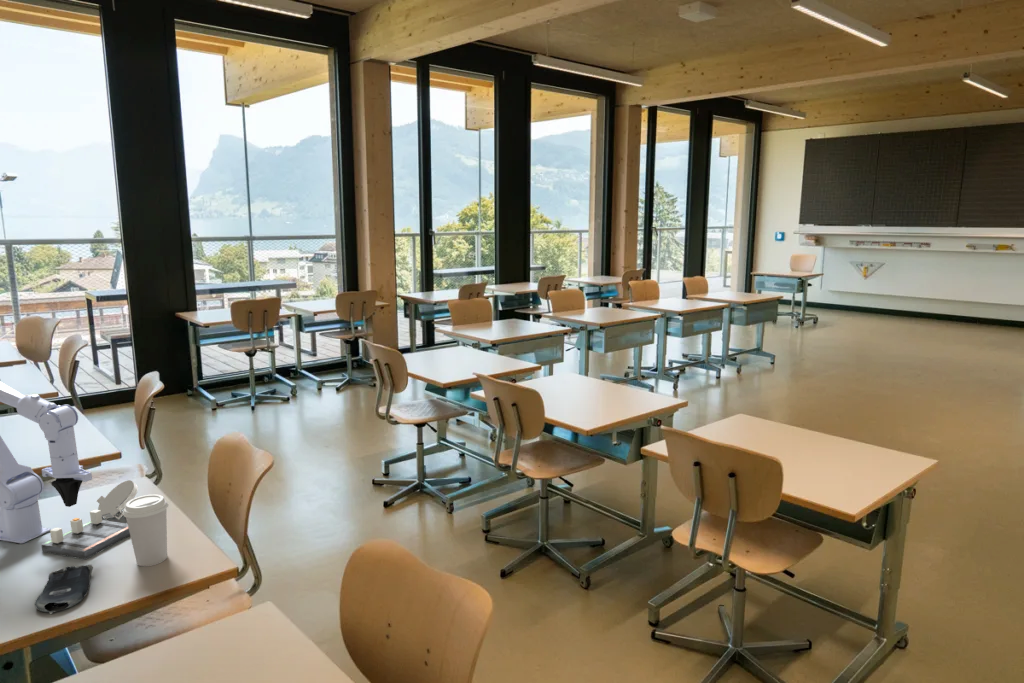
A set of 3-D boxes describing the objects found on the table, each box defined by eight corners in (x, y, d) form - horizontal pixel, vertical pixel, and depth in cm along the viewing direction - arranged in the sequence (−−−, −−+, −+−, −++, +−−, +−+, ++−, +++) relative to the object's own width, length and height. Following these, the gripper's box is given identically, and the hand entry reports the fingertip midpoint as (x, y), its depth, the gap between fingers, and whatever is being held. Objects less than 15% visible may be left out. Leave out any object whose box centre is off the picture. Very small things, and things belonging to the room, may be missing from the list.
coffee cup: (126, 573, 155) (118, 512, 153) (132, 554, 164) (124, 497, 162) (172, 564, 159) (165, 505, 156) (175, 547, 168) (169, 490, 165)
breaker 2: (91, 523, 177) (89, 511, 176) (96, 520, 178) (95, 509, 178) (97, 524, 176) (95, 512, 176) (102, 521, 178) (100, 510, 177)
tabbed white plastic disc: (89, 508, 190) (108, 471, 192) (117, 515, 195) (135, 478, 198) (106, 524, 179) (126, 484, 182) (135, 530, 185) (154, 491, 188)
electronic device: (45, 592, 151) (30, 617, 138) (46, 567, 152) (31, 590, 138) (93, 587, 155) (83, 611, 142) (94, 563, 155) (85, 585, 142)
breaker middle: (71, 532, 172) (70, 519, 171) (77, 529, 173) (75, 517, 173) (77, 533, 171) (75, 520, 171) (83, 530, 173) (81, 518, 172)
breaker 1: (51, 542, 167) (49, 530, 166) (57, 539, 168) (56, 527, 168) (57, 543, 166) (55, 531, 165) (63, 540, 168) (61, 528, 167)
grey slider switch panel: (42, 551, 167) (41, 544, 166) (96, 525, 181) (95, 518, 180) (85, 559, 162) (83, 551, 162) (136, 532, 176) (135, 524, 176)
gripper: (99, 451, 170) (106, 501, 173) (57, 446, 175) (64, 495, 177) (74, 460, 164) (81, 513, 166) (30, 455, 168) (38, 506, 171)
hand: (71, 505), depth 171 cm, fingers closed
